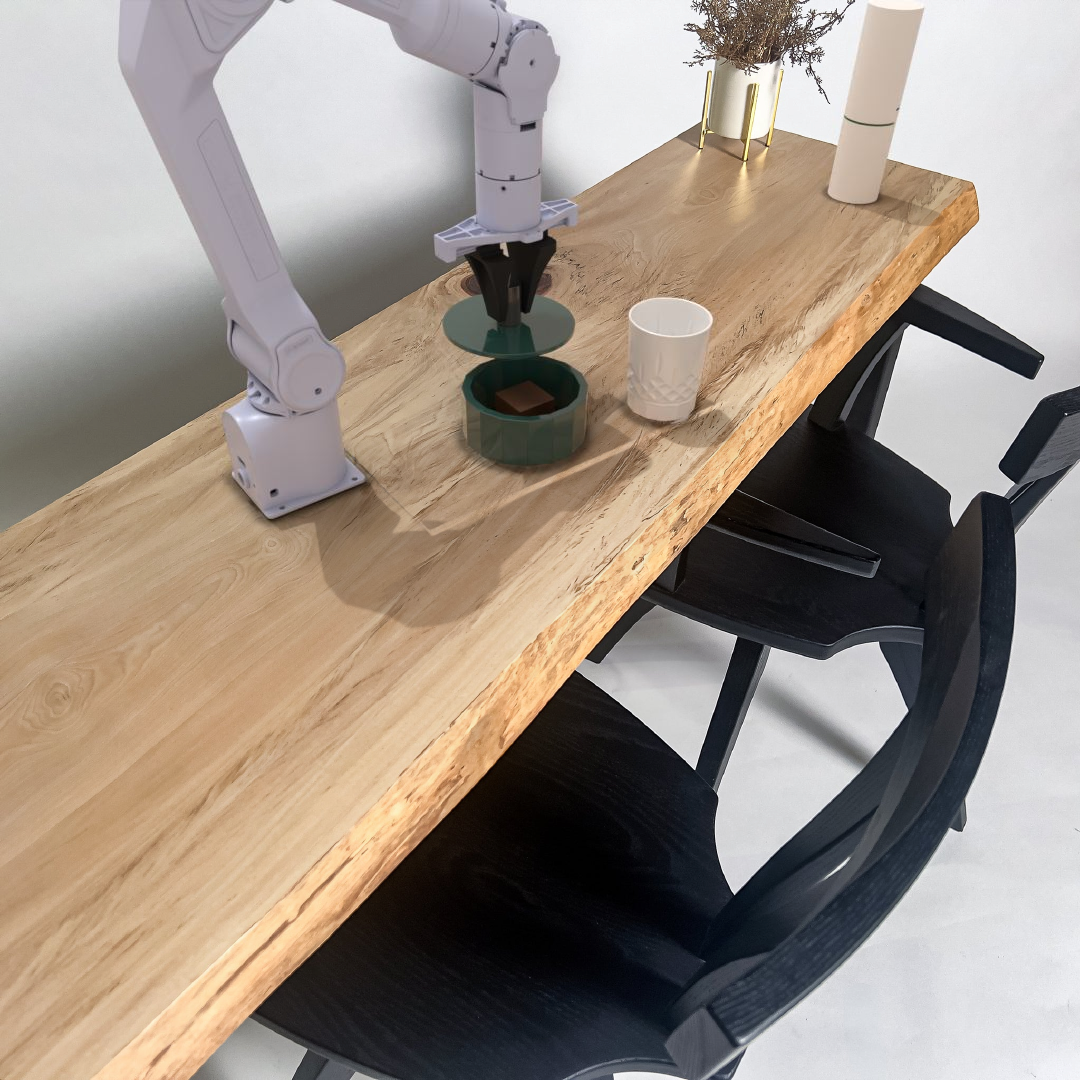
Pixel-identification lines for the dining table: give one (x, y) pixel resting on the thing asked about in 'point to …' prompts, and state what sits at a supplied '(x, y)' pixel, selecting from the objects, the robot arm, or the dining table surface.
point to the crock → (518, 434)
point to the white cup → (666, 357)
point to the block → (524, 401)
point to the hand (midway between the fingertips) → (508, 313)
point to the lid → (509, 326)
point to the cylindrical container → (874, 98)
